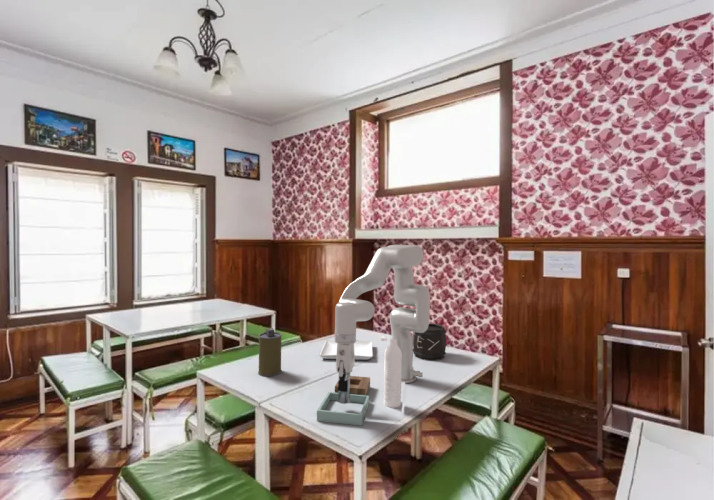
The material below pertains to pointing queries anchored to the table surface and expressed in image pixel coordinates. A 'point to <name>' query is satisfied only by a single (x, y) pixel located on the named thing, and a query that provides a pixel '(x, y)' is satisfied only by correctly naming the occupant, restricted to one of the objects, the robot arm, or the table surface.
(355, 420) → the tray
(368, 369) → the table surface
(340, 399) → the steel pin
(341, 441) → the table surface
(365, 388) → the block
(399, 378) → the water bottle
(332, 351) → the square plate
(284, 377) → the table surface
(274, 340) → the canister
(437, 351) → the black cylinder
